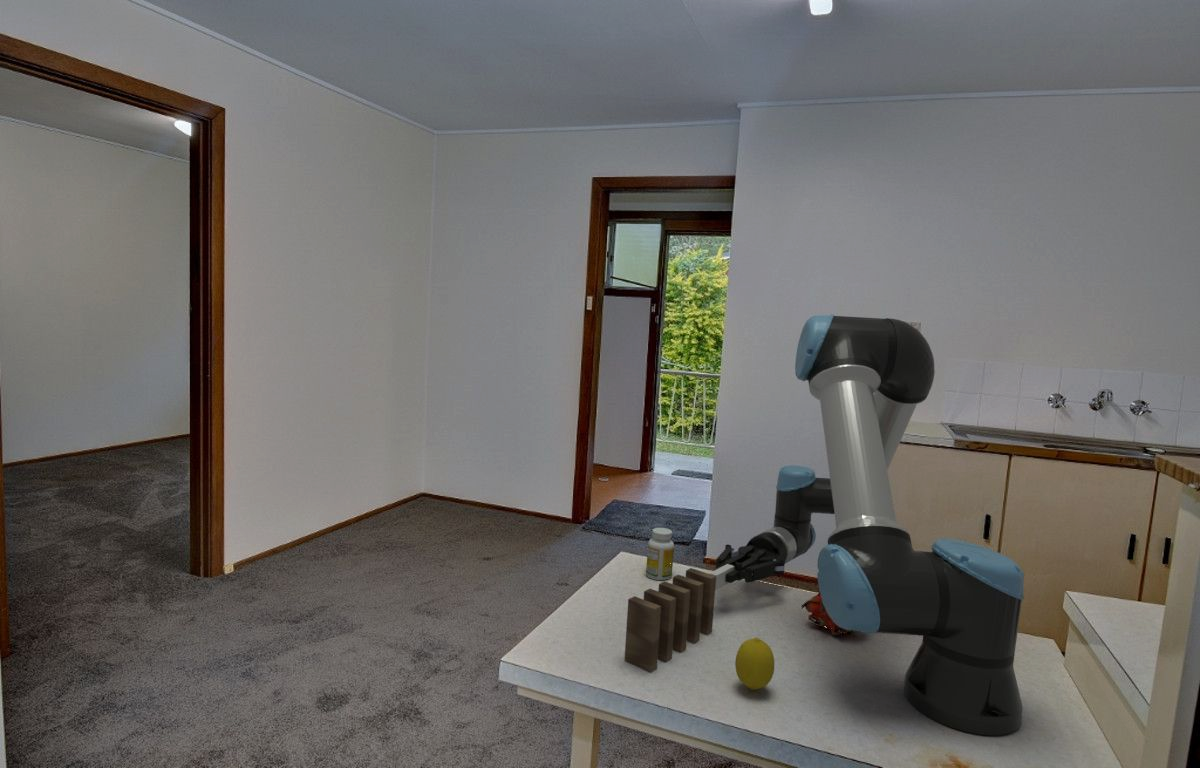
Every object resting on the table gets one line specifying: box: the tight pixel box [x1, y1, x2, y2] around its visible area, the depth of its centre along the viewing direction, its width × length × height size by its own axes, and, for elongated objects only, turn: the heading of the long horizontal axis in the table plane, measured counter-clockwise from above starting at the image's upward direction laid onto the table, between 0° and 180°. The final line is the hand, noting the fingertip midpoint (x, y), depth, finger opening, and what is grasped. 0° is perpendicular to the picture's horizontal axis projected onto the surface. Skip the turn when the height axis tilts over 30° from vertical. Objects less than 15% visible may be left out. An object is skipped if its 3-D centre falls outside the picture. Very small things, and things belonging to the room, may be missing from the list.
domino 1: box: [624, 595, 661, 673], centre depth 106 cm, size 5×2×10 cm, turn 51°
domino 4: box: [671, 574, 704, 645], centre depth 116 cm, size 5×2×10 cm, turn 51°
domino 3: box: [657, 580, 690, 654], centre depth 113 cm, size 5×2×10 cm, turn 51°
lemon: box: [735, 636, 775, 692], centre depth 101 cm, size 6×6×8 cm
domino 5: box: [685, 567, 716, 636], centre depth 119 cm, size 5×2×10 cm, turn 51°
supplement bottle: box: [645, 527, 675, 581], centre depth 142 cm, size 5×5×10 cm
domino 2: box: [643, 588, 676, 663], centre depth 110 cm, size 5×2×10 cm, turn 51°
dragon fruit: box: [801, 591, 862, 636], centre depth 122 cm, size 8×8×12 cm
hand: (712, 581), depth 123 cm, fingers closed
